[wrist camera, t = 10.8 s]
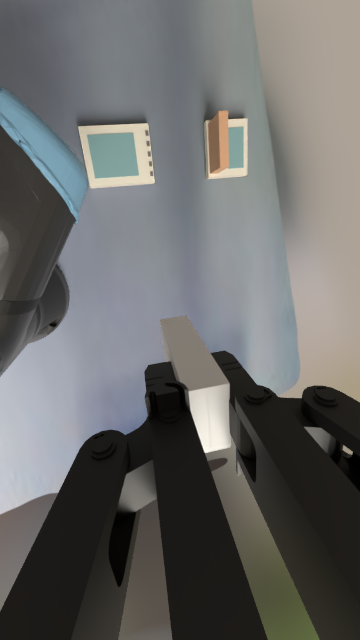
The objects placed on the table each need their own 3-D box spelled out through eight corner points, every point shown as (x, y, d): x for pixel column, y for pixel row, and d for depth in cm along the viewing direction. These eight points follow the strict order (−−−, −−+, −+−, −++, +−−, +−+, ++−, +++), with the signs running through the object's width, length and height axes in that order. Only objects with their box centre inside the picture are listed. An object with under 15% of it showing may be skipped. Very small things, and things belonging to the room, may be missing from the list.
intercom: (206, 179, 39) (218, 172, 33) (203, 123, 36) (216, 106, 31) (243, 176, 40) (261, 168, 34) (243, 121, 37) (263, 104, 32)
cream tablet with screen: (91, 188, 36) (90, 187, 35) (79, 129, 34) (77, 126, 33) (153, 183, 38) (154, 182, 36) (147, 126, 35) (148, 122, 34)
